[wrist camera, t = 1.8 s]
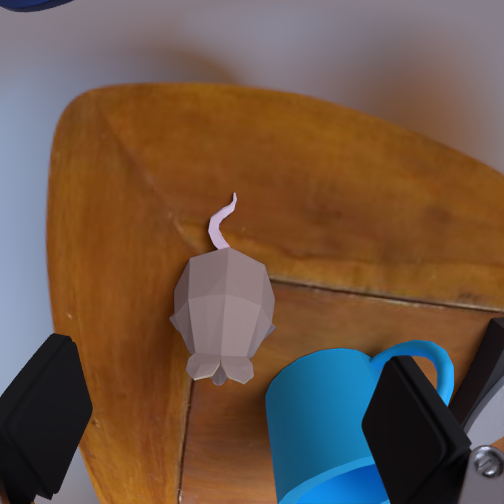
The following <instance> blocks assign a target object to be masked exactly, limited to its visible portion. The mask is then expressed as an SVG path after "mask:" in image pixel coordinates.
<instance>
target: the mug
mask: <svg viewBox="0 0 504 504" xmlns="http://www.w3.org/2000/svg"><path fill="white" fill-rule="evenodd" d="M401 355H410V356H421V357H426V358H428V359H429V360H431V361H432V362H433V363H434V366H435V368H436V370H437V389H436V391H437V393H438V394H439V395H440V397H441V398H442V400H443V401H444V402H445V404H446V405H447V407H448V404H449V401H450V398H451V395H452V392H453V389H454V367H453V364H452V362H451V360H450V358H449V356H448V354H447V352H446V350H444V349H443V348H441V347H440V346H438V345H437V344H435V343H433V342H432V341H423V340H412V341H408V342H404V343H400V344H396V345H394V346H392V347H390V348H388V349H386V350H384V351H382V352H380V353H378V354H377V355H376V356H374V357H373V358H371V357H370V356H368V355H366V354H364V353H362V352H360V351H358V350H352V349H344V348H336V349H329V350H321V351H318V352H315V353H312V354H309V355H307V356H304V357H301V358H299V359H298V360H296V361H295V362H293V363H292V364H290V365H288V366H287V367H285V368H284V369H283V370H282V371H281V372H280V373H279V374H278V375H277V376H276V377H275V378H274V380H273V381H272V382H271V384H270V386H269V388H268V391H267V393H266V396H265V400H266V414H267V422H268V430H269V439H270V447H271V455H272V463H273V471H274V479H275V487H276V495H277V503H278V504H389V503H390V501H389V498H388V496H387V493H386V490H385V488H384V485H383V482H382V480H381V477H380V474H379V472H378V469H377V467H376V464H375V462H374V459H373V456H372V454H371V451H370V449H369V446H368V444H367V441H366V439H365V436H364V434H363V431H362V427H361V423H362V419H363V417H364V414H365V412H366V410H367V407H368V405H369V403H370V400H371V398H372V395H373V393H374V390H375V388H376V385H377V383H378V380H379V378H380V375H381V370H382V369H383V367H384V364H385V363H386V361H389V360H390V358H391V357H392V356H401Z"/></svg>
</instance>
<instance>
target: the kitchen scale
mask: <svg viewBox="0 0 504 504" xmlns="http://www.w3.org/2000/svg"><path fill="white" fill-rule="evenodd" d="M449 410H450V411H451V412H452V414H453V415H454V417H455V418H456V420H457V421H458V423H459V424H460V426H461V427H462V429H463V430H464V432H465V433H466V435H467V436H468V438H469V439H470V441H471V442H472V445H471V446H470V449H471V450H474V449H475V448H476V447H478V446H481V445H490V444H492V443H494V442H495V441H497V440H499V439H500V438H501V437H503V436H504V318H494V319H492V320H491V322H490V325H489V327H488V330H487V332H486V335H485V337H484V339H483V342H482V344H481V346H480V348H479V351H478V353H477V355H476V357H475V359H474V361H473V363H472V365H471V367H470V369H469V371H468V373H467V375H466V377H465V379H464V381H463V383H462V385H461V387H460V389H459V391H458V392H457V394H456V396H455V398H454V400H453V401H452V403H451V405H450V407H449Z"/></svg>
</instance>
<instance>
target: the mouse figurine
mask: <svg viewBox="0 0 504 504" xmlns="http://www.w3.org/2000/svg"><path fill="white" fill-rule="evenodd" d="M236 201H237V197H236V194H235V192H234V196H233V202H232V203H231V204H230V205H228V206H225V207H223V208H222V209H220V210H219V211H218V212H216V213H215V214H214V215H213V216H212V217H211V221H210V225H209V230H208V232H209V234H210V237H211V239H212V241H213V244H214V245H215V246H216V247H217V248H218V249H219V250H216V251H213V252H209V253H206V254H202V255H199V256H195V257H192V258H190V259H189V261H188V263H187V265H186V267H185V269H184V271H183V273H182V275H181V277H180V279H179V281H178V283H177V285H176V287H175V289H174V309H175V313H174V314H173V315H172V316H171V317H170V318H169V319H170V321H171V322H172V324H173V325H174V327H175V328H176V329H177V330H178V331H179V332H180V333H181V334H182V337H183V339H184V342H185V345H186V347H187V349H188V351H189V352H190V353H191V355H192V356H191V357H190V358H189V359H188V363H187V367H186V371H187V373H188V374H189V375H190V376H191V377H192V378H193V379H194V380H198V379H202V378H207V377H210V378H211V380H212V382H213V383H214V384H216V385H217V386H219V385H221V384H223V383H224V382H225V381H226V380H227V379H228V378H230V379H232V380H235V381H237V382H240V383H242V384H245V383H246V382H248V381H249V380H250V379H251V378H252V377H253V376H254V373H253V364H252V363H251V362H250V360H249V359H250V358H251V357H253V355H254V354H255V352H256V351H257V349H258V347H259V345H260V344H261V342H262V340H263V339H265V338H266V337H267V336H268V335H269V334H270V333H271V332H272V331H273V330H274V329H275V328H276V327H275V326H274V325H273V324H272V316H273V309H274V301H275V298H274V295H273V291H272V288H271V284H270V281H269V277H268V274H267V271H266V267H265V265H264V264H262V263H260V262H258V261H256V260H254V259H252V258H250V257H248V256H246V255H244V254H242V253H240V252H238V251H236V250H234V249H232V248H230V246H229V244H228V243H227V242H226V241H225V239H224V238H223V237H222V235H221V233H220V231H219V223H220V222H221V221H222V219H224V218H225V217H226V216H227V215H229V214H230V213H231V212H232V211H234V208H235V204H236Z"/></svg>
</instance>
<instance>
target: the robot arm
mask: <svg viewBox="0 0 504 504" xmlns="http://www.w3.org/2000/svg"><path fill="white" fill-rule="evenodd" d="M92 410H93V407H92V402H91V399H90V396H89V392H88V389H87V385H86V382H85V378H84V374H83V370H82V366H81V362H80V358H79V354H78V349H77V345H76V343H75V342H72V339H71V338H70V337H69V336H65V335H60V334H55V333H53V334H51V335H50V336H49V337H48V338H47V340H46V341H45V342H44V343H43V344H42V346H41V347H40V348H39V349H38V350H37V351H36V353H35V354H34V355H33V357H32V358H31V359H30V360H29V361H28V362H27V364H26V365H25V366H24V367H23V368H22V370H21V371H20V372H19V373H18V375H17V376H16V377H15V379H14V380H13V381H12V382H11V384H10V385H9V386H8V388H7V389H6V390H5V391H4V393H3V394H2V395H1V397H0V504H35V503H34V499H35V496H36V494H37V495H39V496H41V497H44V498H46V499H49V500H51V499H52V496H53V494H56V493H58V492H59V490H60V488H61V485H62V482H63V480H64V477H65V475H66V473H67V470H68V468H69V465H70V463H71V461H72V458H73V456H74V453H75V451H76V449H77V447H78V444H79V442H80V440H81V437H82V435H83V433H84V431H85V428H86V426H87V424H88V422H89V420H90V417H91V415H92ZM361 427H362V431H363V434H364V436H365V439H366V441H367V444H368V446H369V449H370V451H371V454H372V456H373V459H374V462H375V464H376V467H377V469H378V472H379V474H380V477H381V480H382V482H383V485H384V488H385V490H386V493H387V496H388V498H389V501H390V504H504V453H503V452H502V451H500V450H499V449H498V448H496V447H493V446H490V445H481V446H478V447H476V448H475V449H474V450H473V451H471V449H470V446H471V445H472V442H471V441H470V439H469V438H468V436H467V435H466V433H465V432H464V430H463V429H462V427H461V426H460V424H459V423H458V421H457V420H456V418H455V417H454V415H453V414H452V412H451V411H450V410H449V408H448V407H447V405H446V404H445V402H444V401H443V400H442V398H441V397H440V395H439V394H438V393H437V391H436V390H435V388H434V387H433V386H432V384H431V383H430V381H429V380H428V379H427V377H426V376H425V375H424V373H423V372H422V370H421V369H420V368H419V366H418V365H417V364H416V362H415V361H414V360H413V358H412V357H411V356H410V355H401V356H392V357H391V358H390V360H389V361H386V363H385V364H384V367H383V370H382V372H381V375H380V378H379V380H378V383H377V385H376V388H375V390H374V393H373V395H372V398H371V400H370V403H369V405H368V407H367V410H366V412H365V414H364V417H363V419H362V423H361Z"/></svg>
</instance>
